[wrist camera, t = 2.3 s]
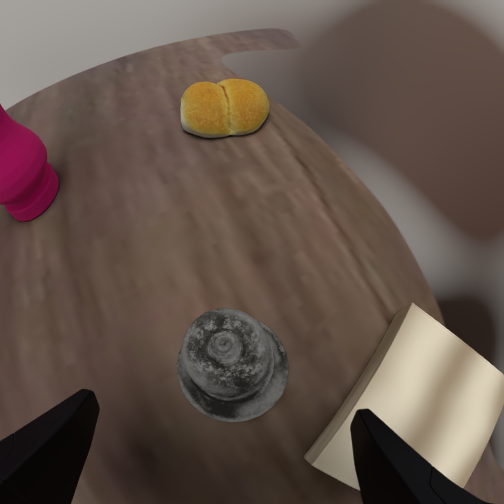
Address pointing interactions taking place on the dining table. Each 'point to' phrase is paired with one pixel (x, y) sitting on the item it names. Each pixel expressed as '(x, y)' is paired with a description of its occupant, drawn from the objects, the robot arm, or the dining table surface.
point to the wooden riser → (419, 400)
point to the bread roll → (223, 108)
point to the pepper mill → (24, 171)
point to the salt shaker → (231, 366)
